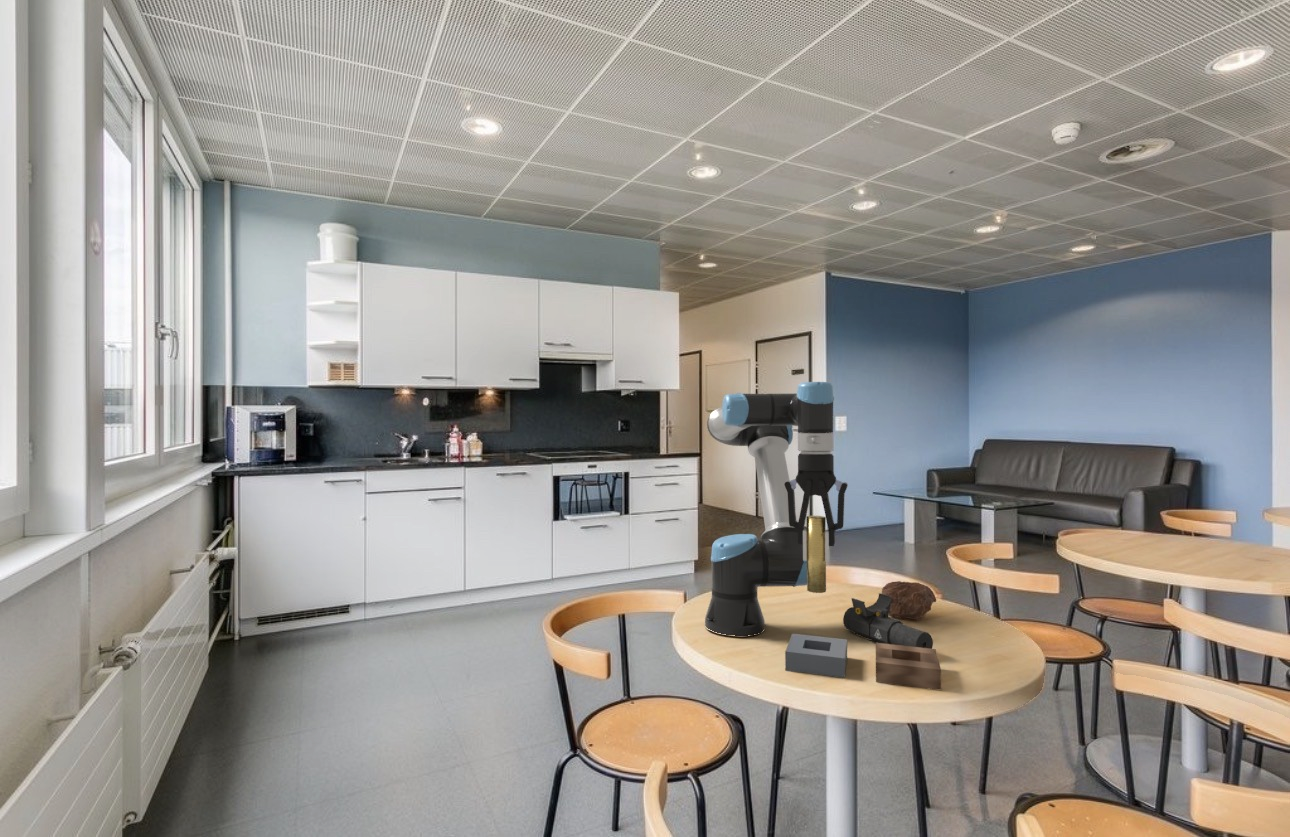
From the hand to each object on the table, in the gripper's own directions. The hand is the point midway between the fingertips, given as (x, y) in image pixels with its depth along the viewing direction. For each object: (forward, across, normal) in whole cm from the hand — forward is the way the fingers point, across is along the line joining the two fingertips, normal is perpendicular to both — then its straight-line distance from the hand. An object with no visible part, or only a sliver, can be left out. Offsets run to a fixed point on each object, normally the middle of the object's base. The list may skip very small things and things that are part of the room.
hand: (816, 559), depth 137 cm
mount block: (+23, 0, 0) cm, 23 cm away
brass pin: (+7, 0, 0) cm, 7 cm away
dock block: (+23, +18, 0) cm, 29 cm away
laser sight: (+23, +14, +19) cm, 33 cm away
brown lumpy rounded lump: (+23, +20, +42) cm, 52 cm away
